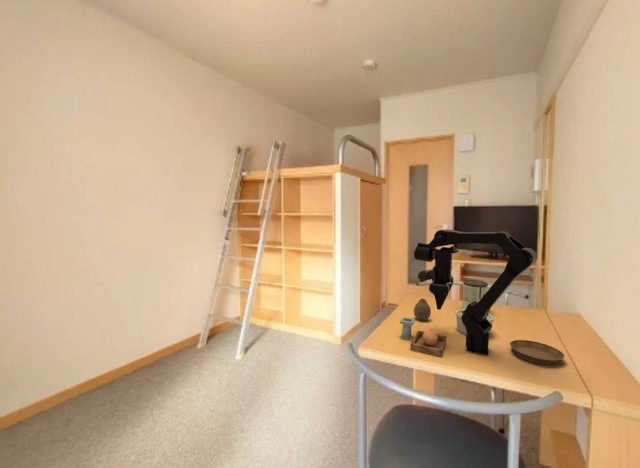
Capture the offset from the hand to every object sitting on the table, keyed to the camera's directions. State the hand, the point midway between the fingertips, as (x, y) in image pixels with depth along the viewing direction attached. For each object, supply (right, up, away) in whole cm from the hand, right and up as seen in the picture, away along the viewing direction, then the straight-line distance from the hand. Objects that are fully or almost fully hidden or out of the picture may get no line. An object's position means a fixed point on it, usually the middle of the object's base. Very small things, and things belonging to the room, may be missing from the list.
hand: (440, 305), depth 116 cm
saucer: (+27, -14, -12) cm, 33 cm away
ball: (-6, -10, -7) cm, 13 cm away
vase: (-1, -10, +19) cm, 22 cm away
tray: (-6, -13, -6) cm, 15 cm away
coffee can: (+27, -10, +31) cm, 42 cm away
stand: (-12, -12, +1) cm, 17 cm away
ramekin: (+16, -12, +7) cm, 21 cm away
